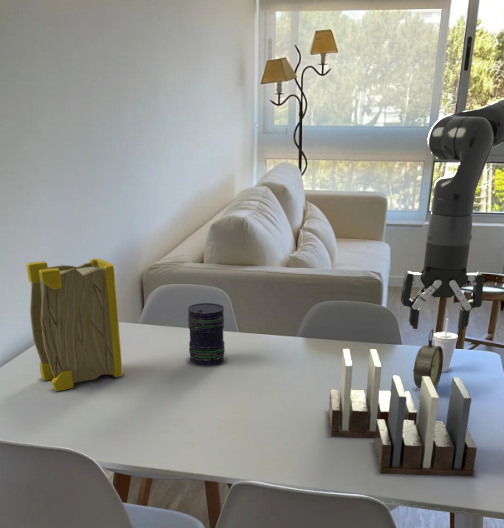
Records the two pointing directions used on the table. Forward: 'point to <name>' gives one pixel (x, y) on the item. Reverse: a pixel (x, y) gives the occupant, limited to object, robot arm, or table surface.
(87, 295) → the decorative book
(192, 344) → the black barrel
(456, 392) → the grey book
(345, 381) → the ivory book
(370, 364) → the ivory book
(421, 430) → the ivory book
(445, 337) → the smoothie
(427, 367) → the alarm clock
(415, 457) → the book stands
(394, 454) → the grey book
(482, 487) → the table surface
